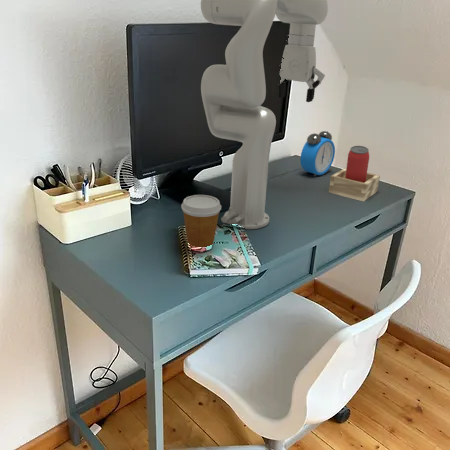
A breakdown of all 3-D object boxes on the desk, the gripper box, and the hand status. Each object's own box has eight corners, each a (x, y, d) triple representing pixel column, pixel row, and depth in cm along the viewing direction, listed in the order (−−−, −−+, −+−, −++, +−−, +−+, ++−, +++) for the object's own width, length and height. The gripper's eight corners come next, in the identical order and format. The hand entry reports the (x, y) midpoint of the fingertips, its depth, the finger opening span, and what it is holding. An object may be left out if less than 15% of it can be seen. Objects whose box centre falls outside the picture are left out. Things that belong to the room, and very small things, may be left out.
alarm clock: (311, 179, 173) (316, 137, 167) (297, 174, 177) (302, 133, 171) (332, 172, 182) (338, 131, 176) (318, 167, 186) (324, 128, 180)
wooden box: (363, 202, 156) (366, 184, 154) (328, 193, 162) (330, 176, 160) (376, 192, 165) (380, 175, 163) (343, 184, 171) (345, 167, 169)
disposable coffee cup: (194, 234, 128) (195, 191, 123) (226, 244, 124) (228, 199, 119) (173, 248, 121) (173, 202, 116) (206, 259, 117) (207, 212, 112)
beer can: (363, 189, 159) (368, 154, 152) (342, 185, 161) (346, 151, 154) (366, 180, 164) (371, 146, 157) (346, 177, 166) (350, 143, 159)
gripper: (269, 39, 150) (265, 96, 157) (322, 44, 141) (315, 105, 148) (282, 38, 155) (277, 94, 163) (333, 43, 147) (325, 101, 154)
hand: (295, 99), depth 155 cm, fingers open, 9 cm apart
